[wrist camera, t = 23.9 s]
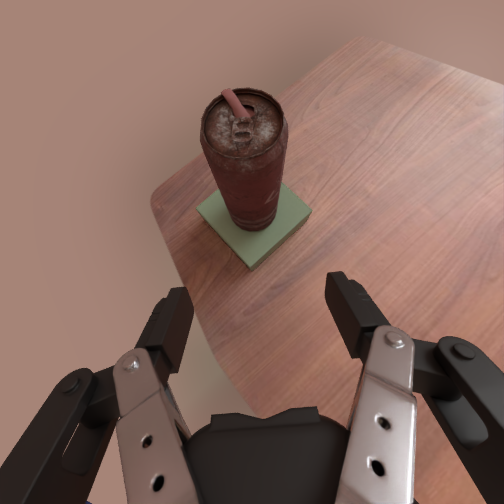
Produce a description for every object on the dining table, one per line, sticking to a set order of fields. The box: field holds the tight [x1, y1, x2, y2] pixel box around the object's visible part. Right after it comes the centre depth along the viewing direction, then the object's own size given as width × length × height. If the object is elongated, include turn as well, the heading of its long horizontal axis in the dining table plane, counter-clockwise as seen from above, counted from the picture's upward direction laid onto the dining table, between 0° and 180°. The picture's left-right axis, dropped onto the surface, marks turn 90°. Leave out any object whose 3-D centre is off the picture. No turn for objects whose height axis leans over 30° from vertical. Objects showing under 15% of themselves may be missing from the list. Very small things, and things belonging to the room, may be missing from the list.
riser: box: [196, 182, 313, 271], centre depth 28 cm, size 11×11×4 cm
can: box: [200, 88, 288, 231], centre depth 20 cm, size 6×6×14 cm
